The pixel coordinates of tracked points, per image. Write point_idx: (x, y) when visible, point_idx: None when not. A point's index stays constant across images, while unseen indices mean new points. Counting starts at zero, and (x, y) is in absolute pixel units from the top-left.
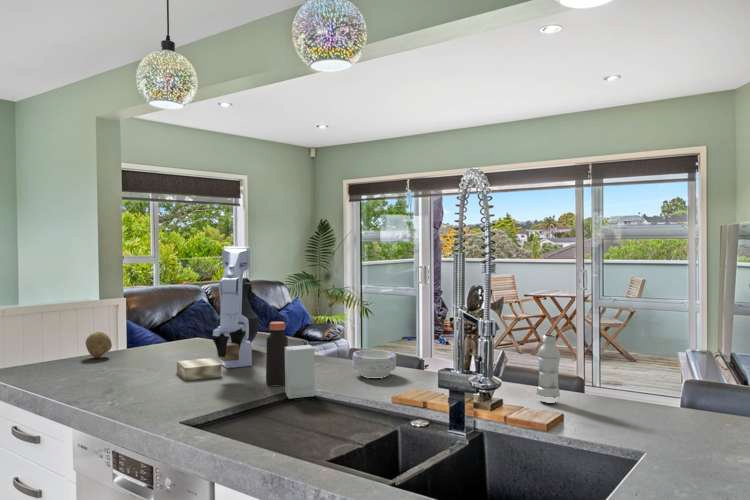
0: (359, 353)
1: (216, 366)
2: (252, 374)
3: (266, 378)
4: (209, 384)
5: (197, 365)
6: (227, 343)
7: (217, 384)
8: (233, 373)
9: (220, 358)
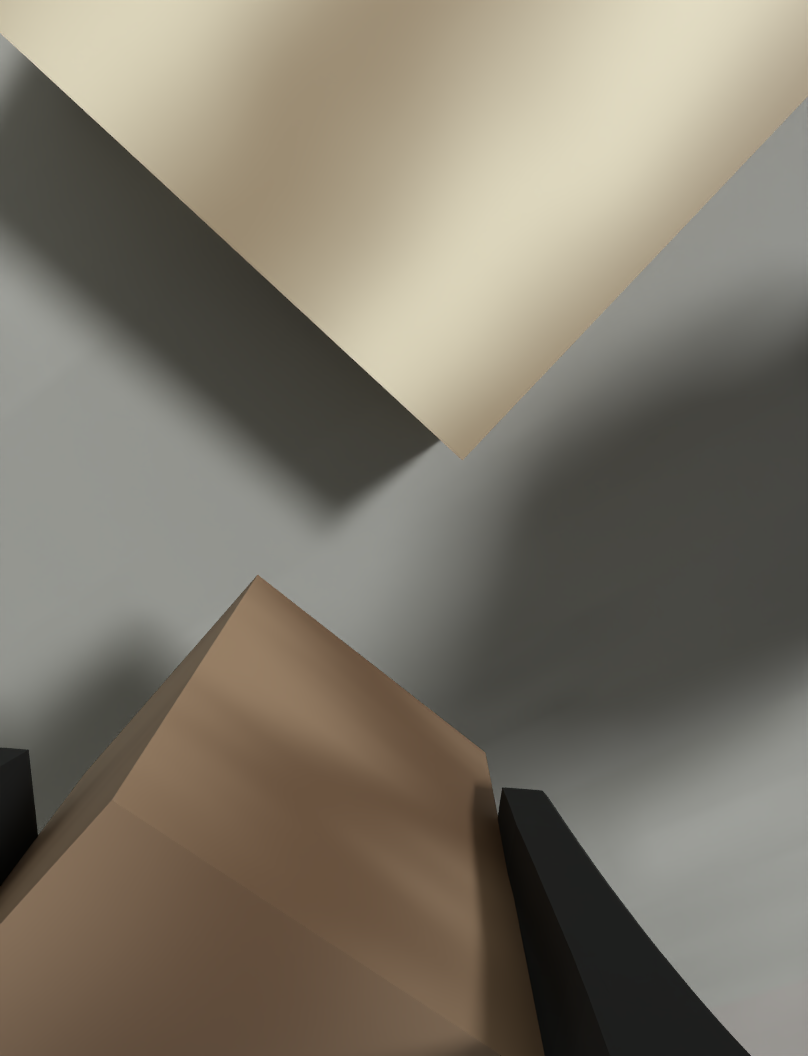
0: None
1: (401, 402)
2: (651, 717)
3: None
4: (61, 516)
5: (234, 67)
6: (274, 1009)
7: (106, 596)
8: (641, 496)
9: (200, 641)
